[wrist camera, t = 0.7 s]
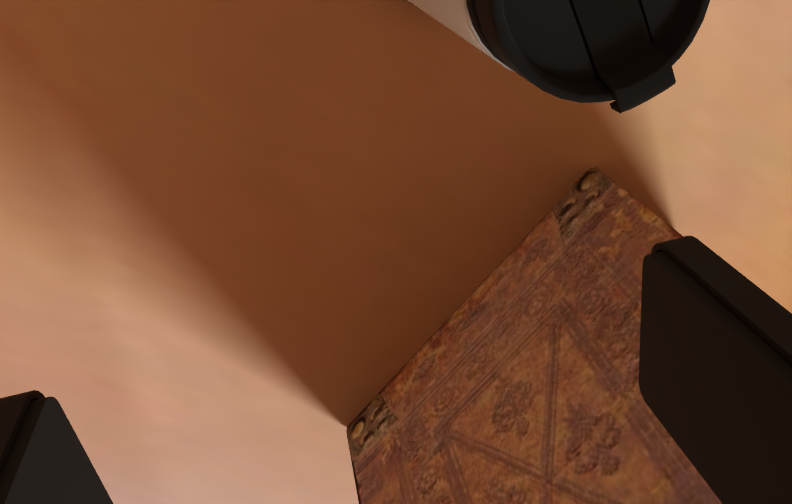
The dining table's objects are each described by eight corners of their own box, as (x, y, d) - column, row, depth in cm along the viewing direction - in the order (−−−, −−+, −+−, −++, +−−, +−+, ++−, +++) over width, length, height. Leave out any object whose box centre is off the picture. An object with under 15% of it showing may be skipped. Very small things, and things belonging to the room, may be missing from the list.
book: (595, 161, 42) (1146, 590, 16) (678, 238, 46) (1227, 679, 20) (344, 428, 49) (452, 1045, 23) (436, 475, 53) (617, 1045, 27)
